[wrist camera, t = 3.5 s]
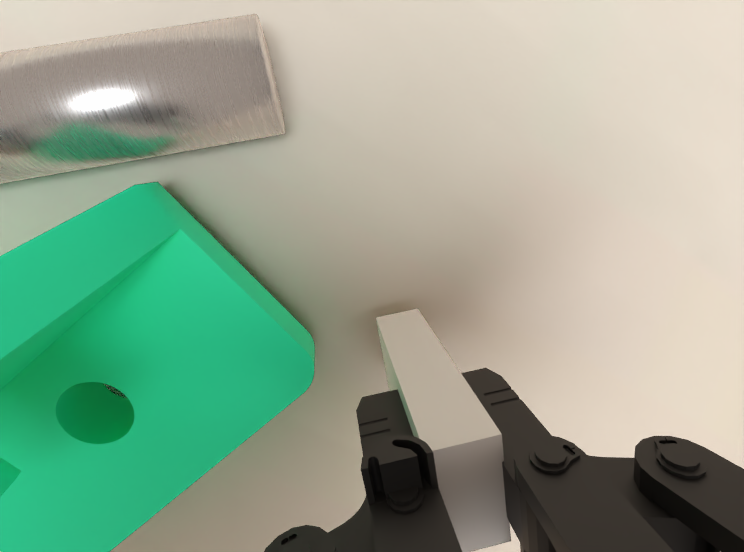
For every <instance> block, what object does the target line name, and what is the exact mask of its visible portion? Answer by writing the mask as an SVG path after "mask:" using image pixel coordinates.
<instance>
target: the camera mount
mask: <svg viewBox="0 0 744 552" xmlns="http://www.w3.org/2000/svg"><path fill="white" fill-rule="evenodd" d="M314 362H315V345H314V341H313V338H312V336H311V335H310V333H309V332H308V331H307V330H306V329H305V328H304V327H303V326H302V325H301V324H300V323H299V322H298V321H297V320H296V319H295V318H294V317H293V316H292V315H291V314H290V313H289V312H288V311H287V310H286V309H285V308H284V307H283V306H282V305H281V304H280V303H279V302H278V301H277V300H276V299H275V298H274V297H273V296H272V295H271V294H270V293H269V292H268V291H267V290H266V289H265V288H264V287H263V286H262V285H261V284H260V283H259V282H258V281H257V280H256V279H255V278H254V277H253V276H252V275H251V274H250V273H249V272H248V271H247V270H246V269H245V268H244V267H243V266H242V265H241V264H240V263H239V262H238V261H237V260H236V259H235V258H234V257H233V256H232V255H231V254H230V253H229V252H228V251H227V250H226V249H225V248H224V247H223V246H222V245H221V244H220V243H219V242H218V241H217V240H216V239H215V238H214V237H213V236H212V235H211V234H210V233H209V232H208V231H207V230H206V229H205V228H204V227H203V226H202V225H201V224H200V223H199V222H198V221H197V220H196V219H195V218H194V217H193V216H192V215H191V214H190V213H189V212H187V211H186V210H185V209H184V208H183V207H182V206H181V205H180V204H179V203H178V202H177V201H176V200H175V199H174V198H173V197H172V196H171V195H170V194H169V193H168V192H167V191H166V190H165V189H164V188H163V187H162V186H161V185H160V184H159V183H158V182H153V183H145V184H138V185H134V186H132V187H130V188H128V189H126V190H124V191H123V192H121V193H119V194H117V195H115V196H113V197H111V198H109V199H107V200H106V201H104V202H102V203H100V204H98V205H96V206H94V207H92V208H90V209H89V210H87V211H85V212H83V213H81V214H79V215H77V216H75V217H73V218H72V219H70V220H68V221H66V222H64V223H62V224H60V225H58V226H56V227H55V228H53V229H51V230H49V231H47V232H45V233H43V234H41V235H39V236H38V237H36V238H34V239H32V240H30V241H28V242H26V243H24V244H22V245H21V246H19V247H17V248H15V249H13V250H11V251H9V252H7V253H5V254H4V255H2V256H0V551H1V552H110V551H111V550H112V549H113V548H115V547H116V546H117V545H118V544H120V543H121V542H122V541H123V540H124V539H126V538H127V537H128V536H129V535H131V534H132V533H133V532H134V531H135V530H137V529H138V528H139V527H140V526H142V525H143V524H144V523H145V522H147V521H148V520H149V519H150V518H151V517H153V516H154V515H155V514H156V513H158V512H159V511H160V510H161V509H162V508H164V507H165V506H166V505H167V504H169V503H170V502H171V501H172V500H173V499H175V498H176V497H177V496H178V495H180V494H181V493H182V492H183V491H184V490H186V489H187V488H188V487H189V486H191V485H192V484H193V483H194V482H195V481H197V480H198V479H199V478H200V477H202V476H203V475H204V474H205V473H206V472H208V471H209V470H210V469H211V468H213V467H214V466H215V465H216V464H217V463H219V462H220V461H221V460H222V459H224V458H225V457H226V456H227V455H228V454H230V453H231V452H232V451H233V450H235V449H236V448H237V447H238V446H239V445H241V444H242V443H243V442H244V441H246V440H247V439H248V438H249V437H250V436H252V435H253V434H254V433H255V432H257V431H258V430H259V429H260V428H261V427H263V426H264V425H265V424H266V423H268V422H269V421H270V420H271V419H273V418H274V417H275V416H276V415H277V414H279V413H280V412H281V411H282V410H284V409H285V408H286V407H287V406H288V405H290V404H291V403H292V402H293V401H295V400H296V399H297V398H298V397H299V396H301V395H302V394H303V393H304V392H305V391H306V390H307V389H308V388H309V386H310V385H311V383H312V381H313V377H314ZM103 383H104V384H107V385H110V386H112V387H114V388H116V389H118V390H119V391H121V392H122V393H123V394H124V395H125V396H126V397H127V398H124V397H121V396H118V395H116V394H114V393H113V392H111V391H110V390H109V389H108V388H107V387H106V386H105V385H104V384H103Z"/></svg>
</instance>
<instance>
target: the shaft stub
mask: <svg viewBox="0 0 744 552" xmlns="http://www.w3.org/2000/svg"><path fill="white" fill-rule="evenodd" d="M281 134H285V124H284V118H283V112H282V108H281V103H280V99H279V94H278V90H277V85H276V81H275V76H274V72H273V67H272V63H271V59H270V55H269V51H268V47H267V43H266V40H265V36H264V33H263V30H262V26H261V23H260V20H259V18H258V15H257V14H252V15H245V16H238V17H232V18H225V19H219V20H212V21H206V22H199V23H193V24H186V25H179V26H173V27H166V28H160V29H153V30H147V31H140V32H133V33H127V34H120V35H114V36H107V37H101V38H94V39H87V40H81V41H74V42H68V43H61V44H55V45H48V46H41V47H35V48H28V49H22V50H15V51H9V52H2V53H0V184H1V183H7V182H13V181H18V180H24V179H30V178H36V177H41V176H47V175H53V174H58V173H64V172H70V171H76V170H81V169H87V168H93V167H98V166H104V165H110V164H116V163H121V162H127V161H133V160H138V159H144V158H150V157H155V156H161V155H167V154H173V153H178V152H184V151H190V150H195V149H201V148H207V147H213V146H218V145H224V144H230V143H235V142H241V141H247V140H253V139H258V138H264V137H270V136H275V135H281Z"/></svg>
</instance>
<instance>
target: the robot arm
mask: <svg viewBox="0 0 744 552" xmlns="http://www.w3.org/2000/svg"><path fill="white" fill-rule="evenodd" d="M376 322H377V327H378V333H379V338H380V344H381V349H382V354H383V360H384V365H385V371H386V376H387V382H388V386H389V390H390V391H388V392H383V393H379V394H375V395H370V396H366V397H362V399H361V401H360V403H359V406H358V408H357V410H356V411H357V418H358V424H359V431H360V437H361V444H362V451H363V458H362V464H361V472H362V476H363V481H364V485H365V490H366V498H365V501H364V503H363V504H362V506H361V508H360V509H359V510H358V512H357V513H356V514H355V515H354V516H353V517H352V518H351V519H349V520H348V521H346V522H345V523H344V524H342V525H341V526H339V527H337V528H335V529H334V530H332V531H330V532H329V533H327V532H325V531H324V530H323V529H321V528H320V527H315V526H309V525H304V526H300V527H295V528H292V529H290V530H288V531H286V532H284V533H283V534H281V535H279V536H278V537H277V538H276V539H275V540H274V541H273V542H272V543H271V544H270V545H269V546H268V547H267V548H266V549H265V551H264V552H471V551H475V550H479V549H482V548H486V547H490V546H494V545H498V544H501V543H505V542H509V541H511V536H510V524H511V526H512V528H513V530H514V532H515V533H516V535H517V537H518V539H519V541H520V547H521V552H720V551H721V552H744V469H743V468H741V467H739V466H737V465H735V464H734V463H732V462H730V461H728V460H726V459H725V458H723V457H721V456H719V455H717V454H716V453H714V452H712V451H710V450H708V449H706V448H705V447H702V446H700V445H698V444H695V443H693V442H691V441H689V440H685V439H681V438H676V437H672V436H653V437H649V438H646V439H643V440H641V441H640V442H639V443H638V444H637V445H636V447H635V458H613V457H595V456H588V455H586V454H585V453H584V452H583V451H582V450H581V449H580V448H578V447H577V446H576V445H575V444H573V443H572V442H569V441H567V440H565V439H562V438H560V437H554V436H551V434H550V433H549V432H548V431H547V430H546V428H545V427H544V426H543V425H542V424H541V423H540V421H539V420H538V419H537V418H536V417H535V415H534V414H533V413H532V412H531V411H530V410H529V408H528V407H527V406H526V405H525V404H524V402H523V401H522V400H520V399H519V397H518V395H517V394H516V393H515V392H514V391H513V390H511V387H510V386H509V385H508V384H507V382H506V381H505V380H504V379H503V378H502V376H500V375H498V374H496V373H495V372H493V371H491V370H489V369H487V368H483V369H479V370H474V371H470V372H465V373H461V372H460V371H459V369H458V368H457V366H456V365H455V363H454V362H453V360H452V359H451V357H450V356H449V354H448V353H447V351H446V350H445V348H444V347H443V345H442V344H441V342H440V341H439V339H438V338H437V336H436V335H435V333H434V332H433V330H432V329H431V327H430V326H429V324H428V323H427V321H426V320H425V318H424V317H423V315H422V314H421V312H420V311H419V309H413V310H409V311H404V312H399V313H395V314H390V315H385V316H380V317H376ZM509 522H510V524H509Z"/></svg>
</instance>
